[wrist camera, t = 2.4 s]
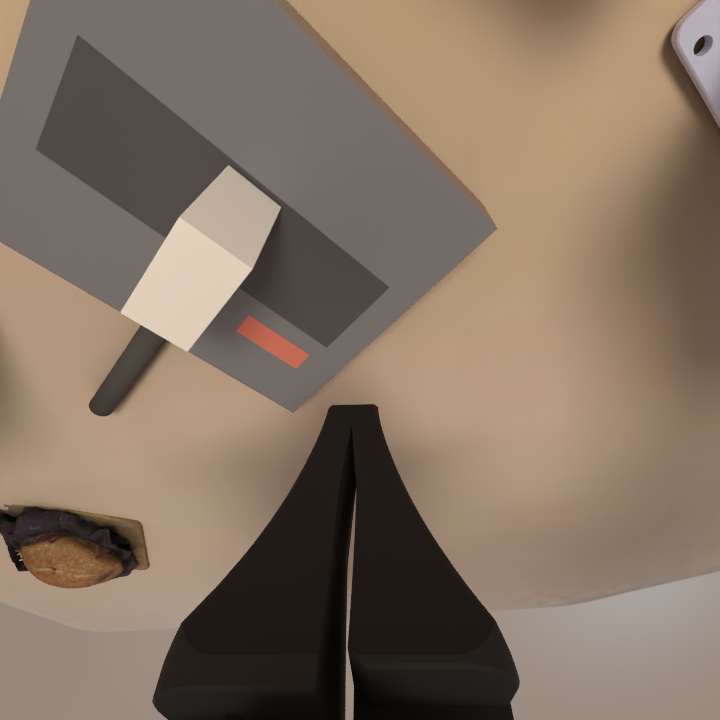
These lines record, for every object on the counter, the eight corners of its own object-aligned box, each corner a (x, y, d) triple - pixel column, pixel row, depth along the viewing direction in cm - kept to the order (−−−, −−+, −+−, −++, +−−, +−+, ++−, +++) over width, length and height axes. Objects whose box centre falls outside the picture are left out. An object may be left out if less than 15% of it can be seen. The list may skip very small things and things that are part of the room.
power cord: (184, 312, 20) (175, 326, 19) (117, 404, 24) (107, 420, 23) (160, 296, 20) (149, 311, 19) (95, 393, 24) (84, 409, 23)
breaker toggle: (281, 207, 14) (252, 269, 11) (227, 278, 16) (187, 351, 13) (228, 164, 14) (178, 217, 10) (177, 244, 15) (120, 312, 12)
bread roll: (146, 510, 32) (124, 559, 29) (153, 565, 37) (135, 612, 34) (-12, 488, 30) (-52, 538, 27) (18, 549, 35) (-13, 596, 32)
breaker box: (482, 203, 17) (497, 228, 15) (299, 378, 23) (292, 412, 21) (136, -155, 11) (87, -192, 9) (11, 197, 17) (-37, 220, 15)
